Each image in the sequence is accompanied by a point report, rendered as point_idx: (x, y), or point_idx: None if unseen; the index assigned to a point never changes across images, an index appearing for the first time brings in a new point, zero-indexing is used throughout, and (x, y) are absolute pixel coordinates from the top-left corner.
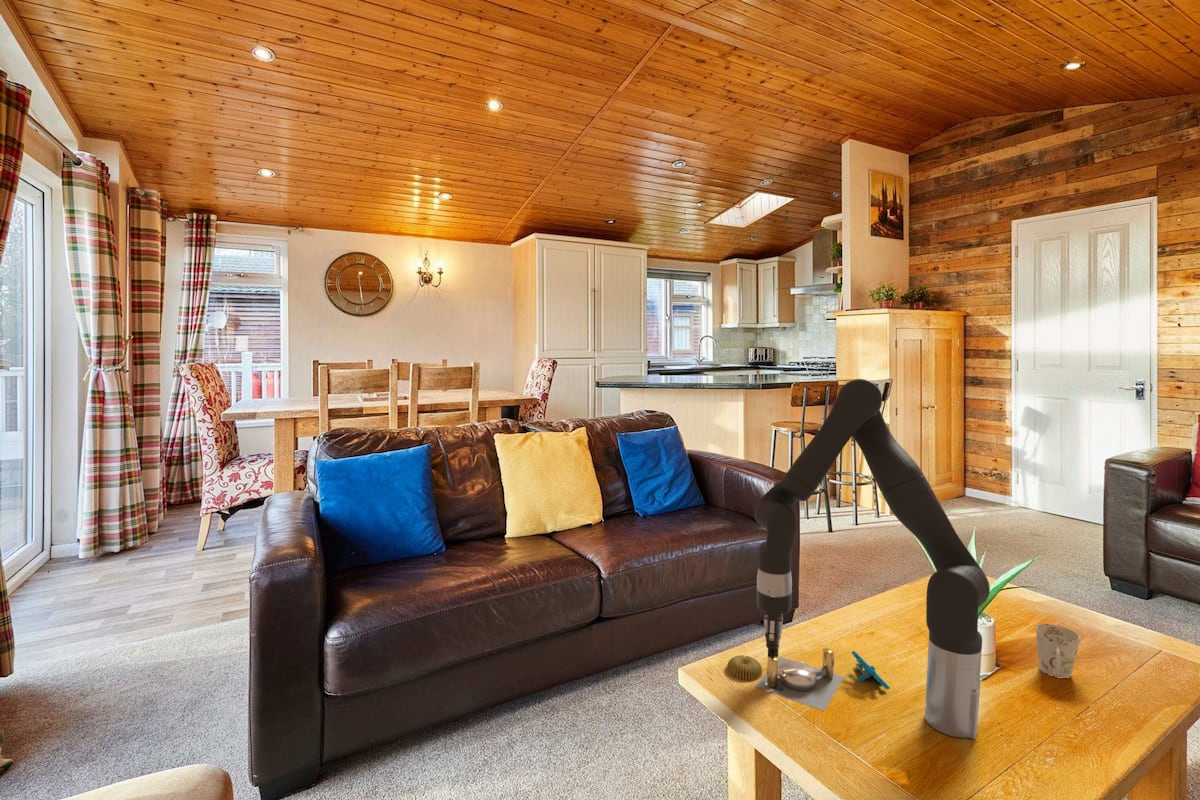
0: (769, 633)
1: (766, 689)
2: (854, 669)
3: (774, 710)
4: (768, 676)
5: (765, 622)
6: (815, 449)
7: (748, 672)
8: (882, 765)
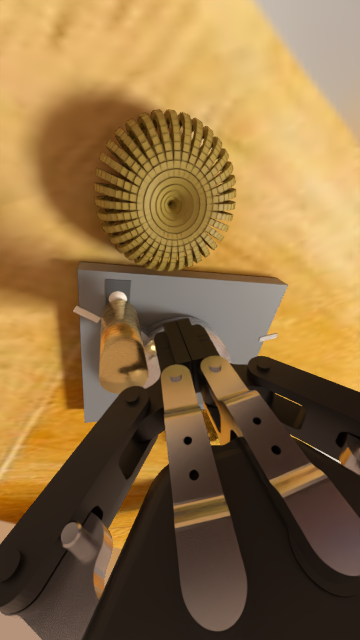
0: (18, 605)
1: (88, 303)
2: None
3: (31, 331)
4: (103, 324)
5: (182, 570)
6: None
7: (116, 239)
8: (12, 489)
